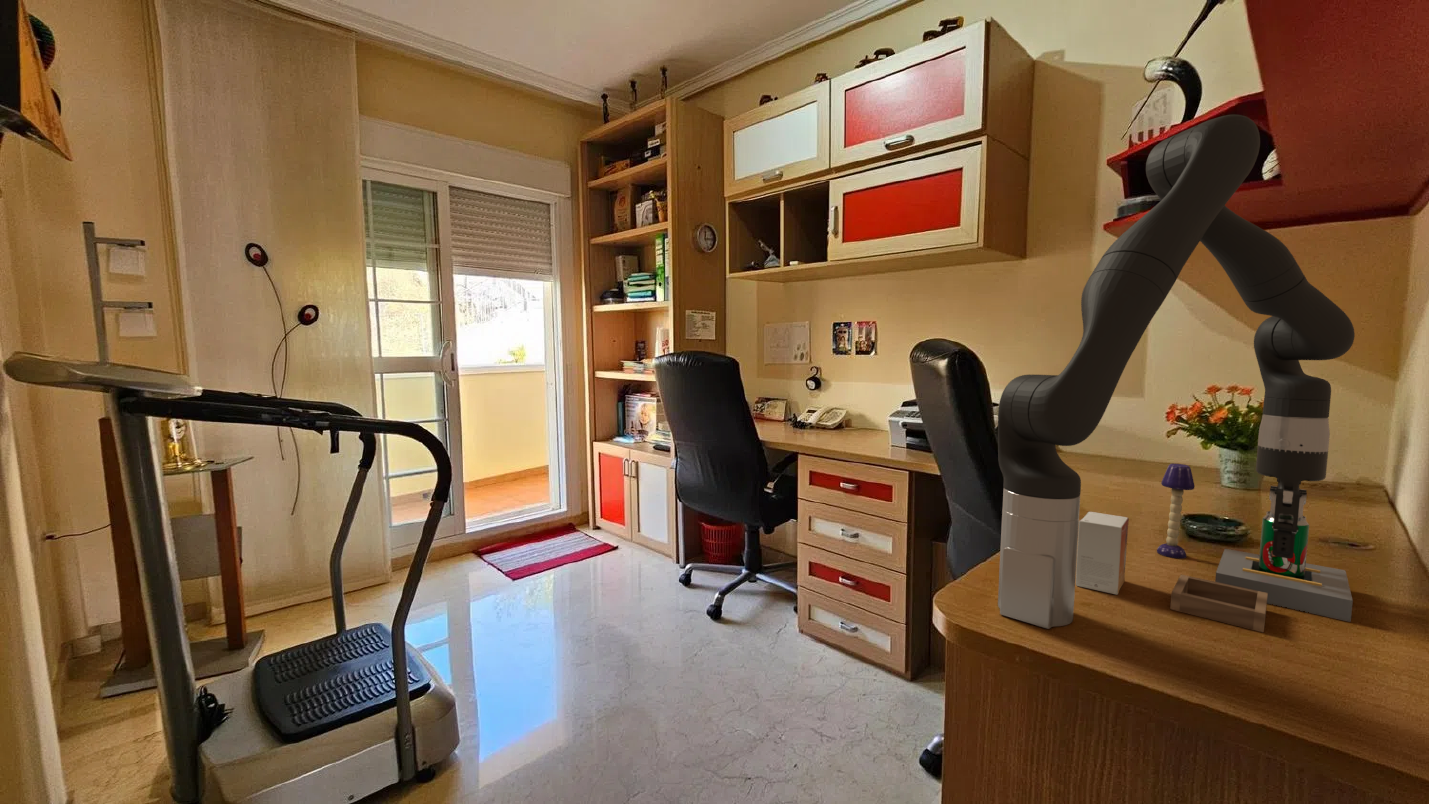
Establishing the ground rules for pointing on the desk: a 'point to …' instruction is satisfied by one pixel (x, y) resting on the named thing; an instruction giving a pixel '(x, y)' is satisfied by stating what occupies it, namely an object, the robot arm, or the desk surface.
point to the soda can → (1279, 564)
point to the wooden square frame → (1220, 602)
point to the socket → (1290, 585)
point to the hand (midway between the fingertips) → (1282, 550)
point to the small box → (1102, 552)
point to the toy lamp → (1175, 507)
